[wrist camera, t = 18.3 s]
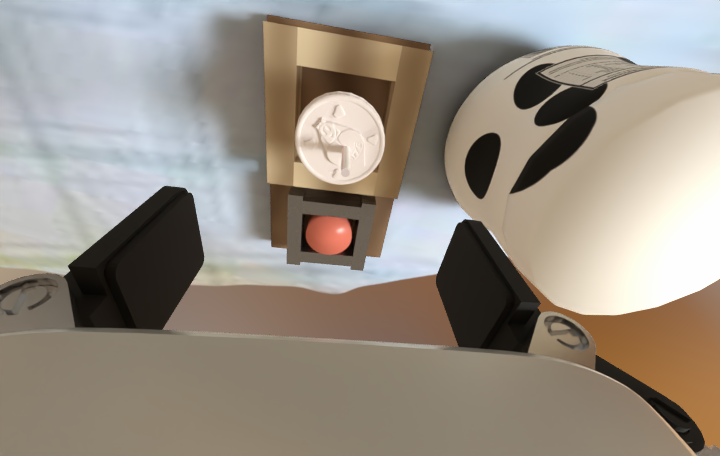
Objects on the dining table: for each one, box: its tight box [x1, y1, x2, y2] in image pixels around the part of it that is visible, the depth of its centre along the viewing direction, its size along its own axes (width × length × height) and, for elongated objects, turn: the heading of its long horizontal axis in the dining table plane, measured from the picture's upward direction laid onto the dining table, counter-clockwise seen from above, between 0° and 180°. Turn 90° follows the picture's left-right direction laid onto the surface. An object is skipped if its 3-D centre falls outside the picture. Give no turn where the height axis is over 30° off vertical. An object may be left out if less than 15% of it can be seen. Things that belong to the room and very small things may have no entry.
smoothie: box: [295, 91, 385, 185], centre depth 22 cm, size 6×6×14 cm
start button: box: [306, 215, 352, 255], centre depth 33 cm, size 5×5×3 cm
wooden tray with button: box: [263, 15, 434, 271], centre depth 30 cm, size 14×24×5 cm, turn 171°
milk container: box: [445, 46, 720, 315], centre depth 24 cm, size 17×17×18 cm
